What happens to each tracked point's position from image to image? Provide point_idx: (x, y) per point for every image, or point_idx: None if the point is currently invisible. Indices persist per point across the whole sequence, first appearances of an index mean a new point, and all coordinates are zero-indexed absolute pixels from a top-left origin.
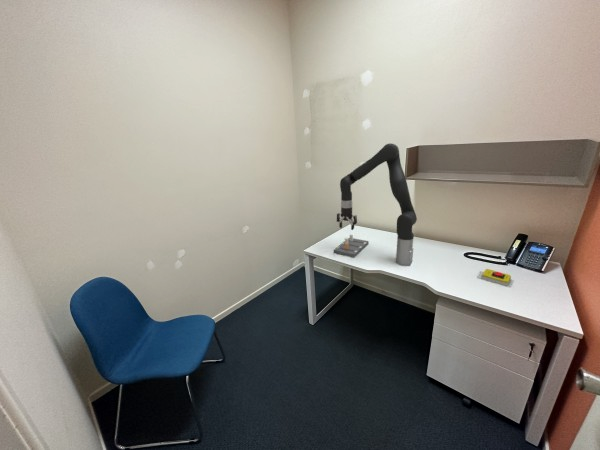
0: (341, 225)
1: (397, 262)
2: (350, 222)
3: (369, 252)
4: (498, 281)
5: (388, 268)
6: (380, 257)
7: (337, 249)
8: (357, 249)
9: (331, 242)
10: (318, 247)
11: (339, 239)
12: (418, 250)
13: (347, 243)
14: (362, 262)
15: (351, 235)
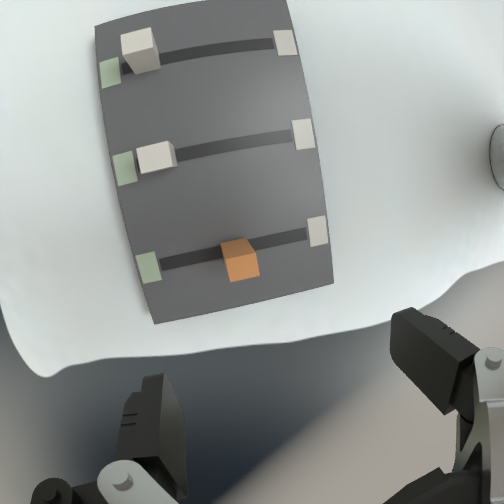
0: (175, 432)
1: (502, 186)
2: (461, 460)
3: (363, 133)
4: None
5: (485, 252)
6: (437, 165)
7: (172, 299)
8: (308, 190)
9: (14, 171)
10: (19, 306)
11: (28, 80)
12: (490, 15)
13: (251, 265)
14: (388, 287)
15: (147, 49)
